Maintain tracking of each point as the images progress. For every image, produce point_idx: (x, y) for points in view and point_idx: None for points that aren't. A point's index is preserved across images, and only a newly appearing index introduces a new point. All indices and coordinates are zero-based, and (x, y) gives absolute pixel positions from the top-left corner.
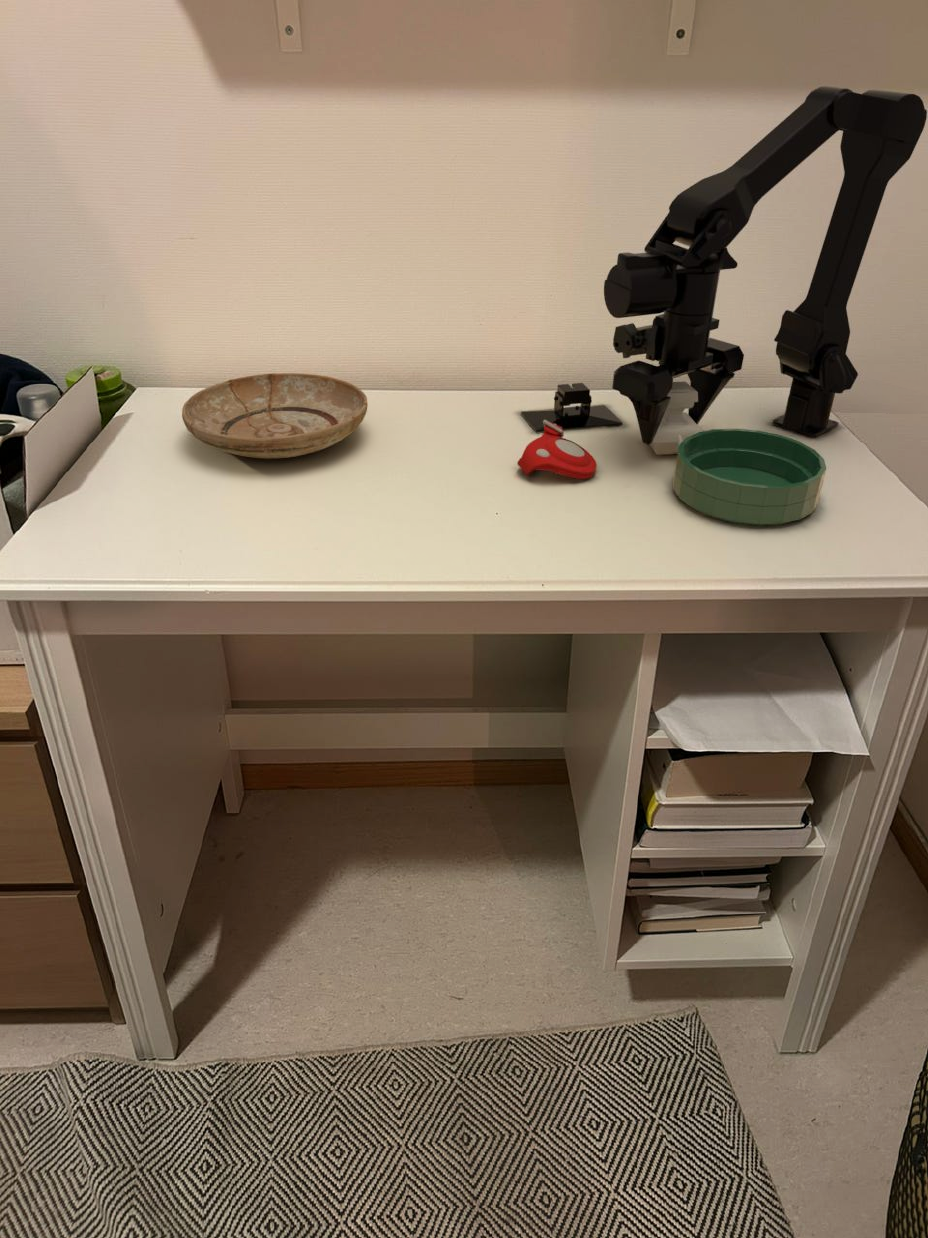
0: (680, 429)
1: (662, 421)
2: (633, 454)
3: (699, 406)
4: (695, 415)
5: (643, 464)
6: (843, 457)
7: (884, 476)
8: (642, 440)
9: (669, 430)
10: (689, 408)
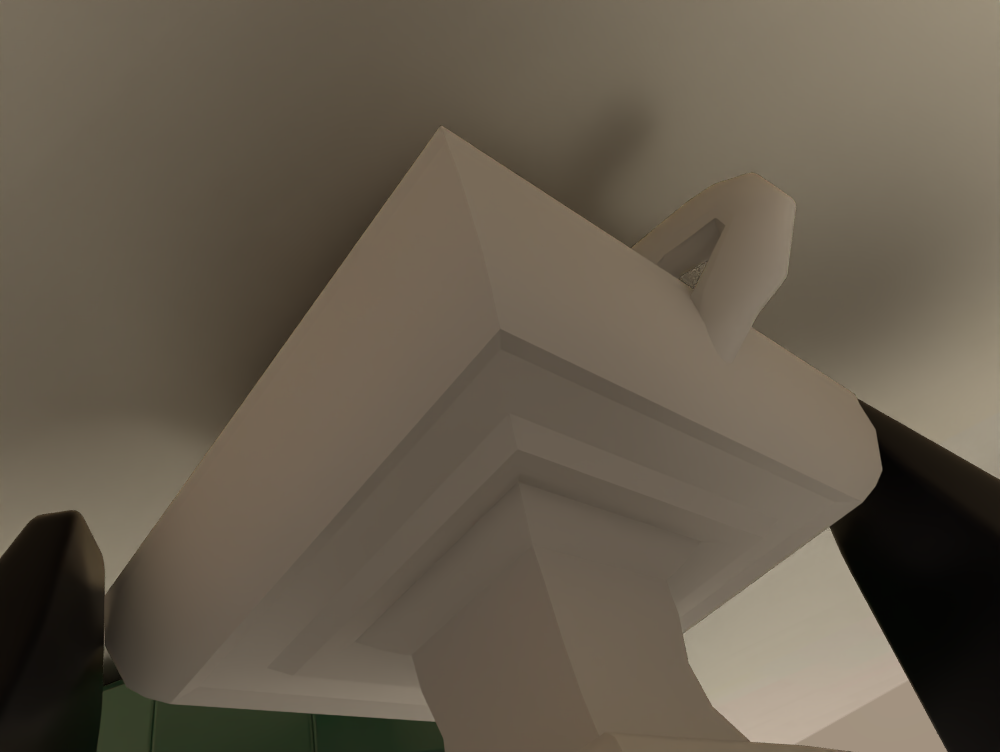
0: (406, 717)
1: (432, 581)
2: (61, 271)
3: (926, 626)
4: (862, 525)
5: (12, 455)
6: (891, 660)
7: (794, 743)
8: (24, 533)
9: (297, 710)
10: (941, 507)
